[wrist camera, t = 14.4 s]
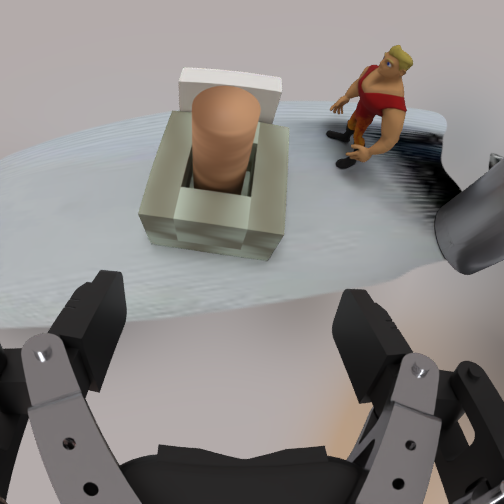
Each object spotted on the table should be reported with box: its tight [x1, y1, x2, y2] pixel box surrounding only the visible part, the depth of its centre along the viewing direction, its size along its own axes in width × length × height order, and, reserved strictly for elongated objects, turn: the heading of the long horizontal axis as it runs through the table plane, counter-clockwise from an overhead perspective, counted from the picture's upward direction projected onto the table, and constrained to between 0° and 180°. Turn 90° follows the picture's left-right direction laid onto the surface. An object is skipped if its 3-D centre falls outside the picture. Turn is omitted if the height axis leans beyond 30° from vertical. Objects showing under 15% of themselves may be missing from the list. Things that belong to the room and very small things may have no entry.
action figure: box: [327, 45, 413, 168], centre depth 24 cm, size 10×4×15 cm, turn 6°
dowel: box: [192, 86, 261, 195], centre depth 21 cm, size 4×4×10 cm
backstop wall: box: [179, 68, 282, 124], centre depth 25 cm, size 8×2×9 cm, turn 88°
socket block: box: [138, 111, 289, 261], centre depth 24 cm, size 10×10×6 cm
